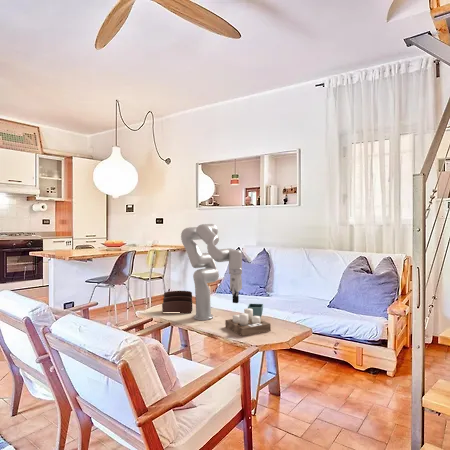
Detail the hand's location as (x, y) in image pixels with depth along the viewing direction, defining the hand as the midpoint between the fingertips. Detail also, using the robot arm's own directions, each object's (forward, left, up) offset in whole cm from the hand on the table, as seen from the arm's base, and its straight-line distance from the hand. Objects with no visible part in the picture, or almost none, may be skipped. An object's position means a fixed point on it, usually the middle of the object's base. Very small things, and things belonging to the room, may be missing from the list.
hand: (235, 302), depth 202 cm
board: (+6, +4, -15) cm, 16 cm away
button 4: (+9, +8, -14) cm, 18 cm away
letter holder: (-53, -17, -15) cm, 58 cm away
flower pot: (-7, +18, -15) cm, 24 cm away
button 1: (+1, 0, -14) cm, 14 cm away
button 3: (+1, +8, -11) cm, 14 cm away
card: (+14, +4, -11) cm, 18 cm away
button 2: (+9, 0, -11) cm, 14 cm away
